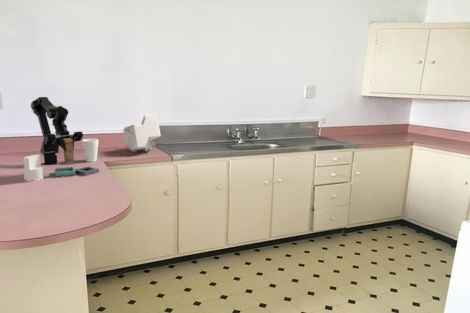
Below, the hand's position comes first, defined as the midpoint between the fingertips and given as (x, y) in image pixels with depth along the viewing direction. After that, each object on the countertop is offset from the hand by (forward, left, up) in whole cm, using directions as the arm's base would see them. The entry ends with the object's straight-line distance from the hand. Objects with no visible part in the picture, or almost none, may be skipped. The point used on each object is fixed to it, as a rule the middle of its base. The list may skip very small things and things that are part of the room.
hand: (69, 150), depth 206 cm
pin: (0, +1, -7) cm, 7 cm away
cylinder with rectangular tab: (-18, -2, -13) cm, 23 cm away
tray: (-3, +2, -13) cm, 14 cm away
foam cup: (+13, +30, -13) cm, 35 cm away
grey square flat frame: (+8, +1, -13) cm, 16 cm away
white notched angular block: (+48, +47, -13) cm, 68 cm away
